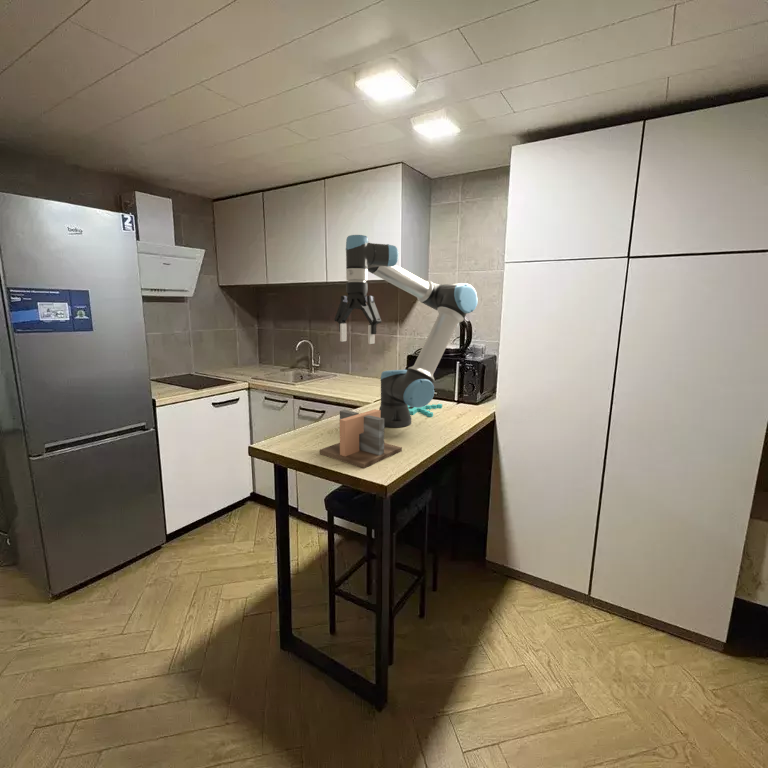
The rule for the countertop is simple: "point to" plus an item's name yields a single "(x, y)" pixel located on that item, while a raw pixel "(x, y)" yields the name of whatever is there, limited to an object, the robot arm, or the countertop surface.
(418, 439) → the countertop surface
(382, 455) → the slotted stand
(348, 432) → the terracotta plate
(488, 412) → the countertop surface
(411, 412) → the alien figure
